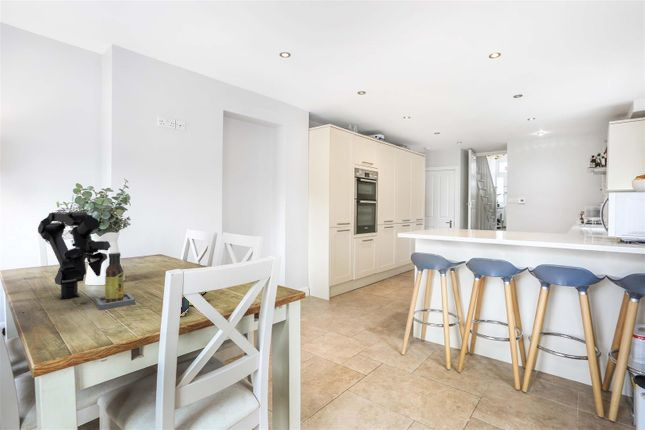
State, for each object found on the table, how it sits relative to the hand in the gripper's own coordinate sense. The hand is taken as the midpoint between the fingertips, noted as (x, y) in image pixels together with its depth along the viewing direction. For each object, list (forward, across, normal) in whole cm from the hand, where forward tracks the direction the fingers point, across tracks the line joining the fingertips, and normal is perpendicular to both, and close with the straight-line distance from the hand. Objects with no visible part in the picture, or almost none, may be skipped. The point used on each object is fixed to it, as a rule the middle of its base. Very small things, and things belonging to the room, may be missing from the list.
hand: (91, 275), depth 127 cm
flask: (+29, -8, -31) cm, 43 cm away
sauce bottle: (+13, +3, -4) cm, 14 cm away
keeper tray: (+14, +4, -4) cm, 15 cm away
